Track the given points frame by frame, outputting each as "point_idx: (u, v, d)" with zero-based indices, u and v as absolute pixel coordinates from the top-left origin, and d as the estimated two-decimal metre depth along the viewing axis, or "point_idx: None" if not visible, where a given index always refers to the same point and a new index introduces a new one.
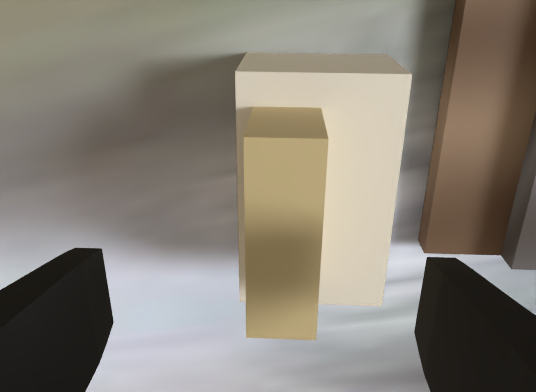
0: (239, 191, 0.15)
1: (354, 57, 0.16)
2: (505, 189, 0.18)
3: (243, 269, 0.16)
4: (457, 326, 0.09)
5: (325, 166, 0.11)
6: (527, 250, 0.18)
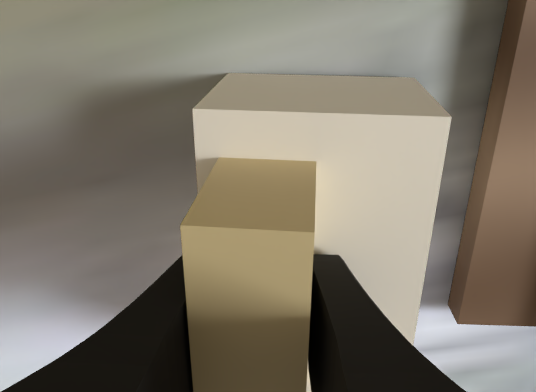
0: None
1: (369, 83, 0.12)
2: None
3: None
4: (318, 322, 0.09)
5: (310, 272, 0.07)
6: None
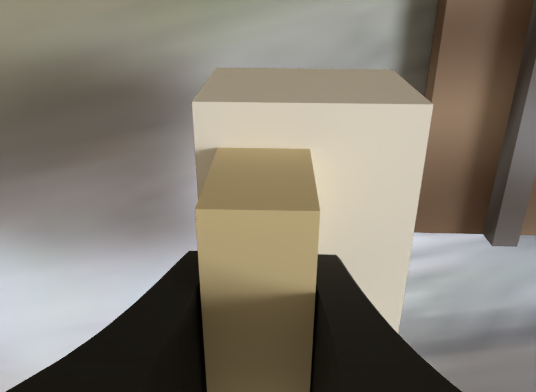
0: None
1: (352, 75, 0.13)
2: (486, 172, 0.19)
3: None
4: (316, 322, 0.09)
5: (316, 248, 0.08)
6: (506, 228, 0.19)
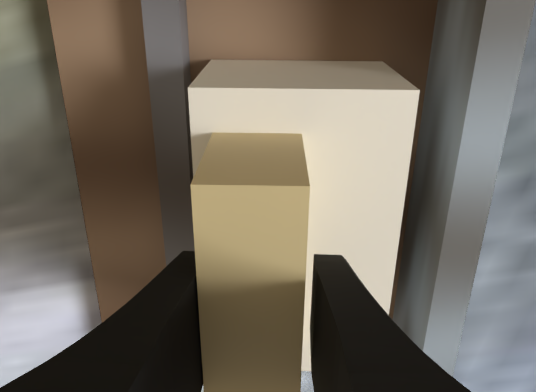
0: None
1: (343, 66, 0.13)
2: None
3: None
4: (322, 322, 0.09)
5: (306, 223, 0.08)
6: None
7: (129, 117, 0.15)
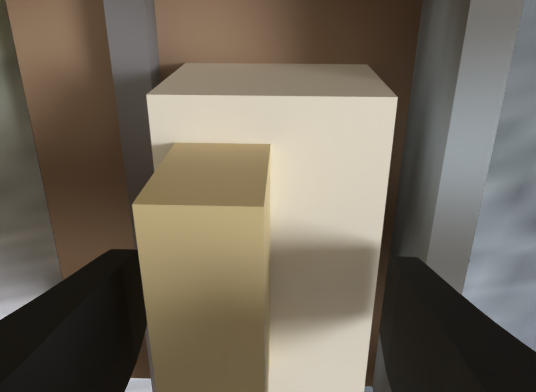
0: None
1: (323, 69, 0.12)
2: None
3: None
4: (411, 324, 0.09)
5: (261, 246, 0.07)
6: None
7: (97, 123, 0.14)
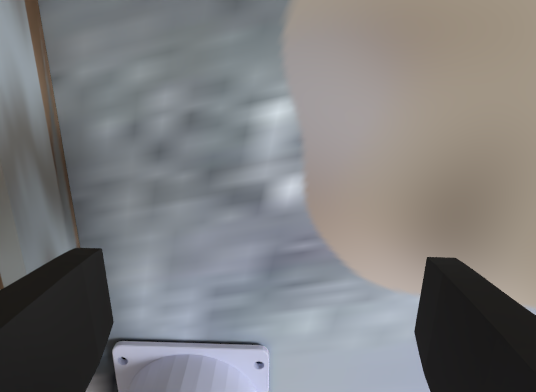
0: None
1: None
2: None
3: None
4: (457, 326, 0.09)
5: None
6: None
7: None
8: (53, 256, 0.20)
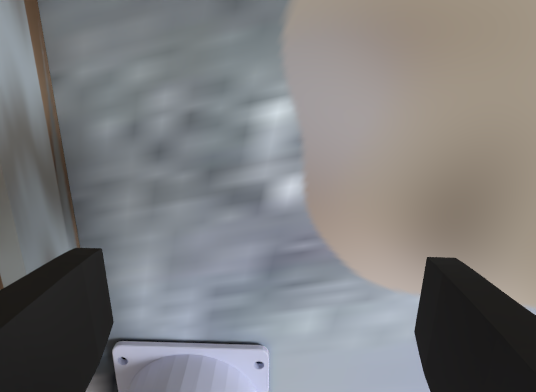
0: None
1: None
2: None
3: None
4: (456, 326, 0.09)
5: None
6: None
7: None
8: (53, 256, 0.20)
